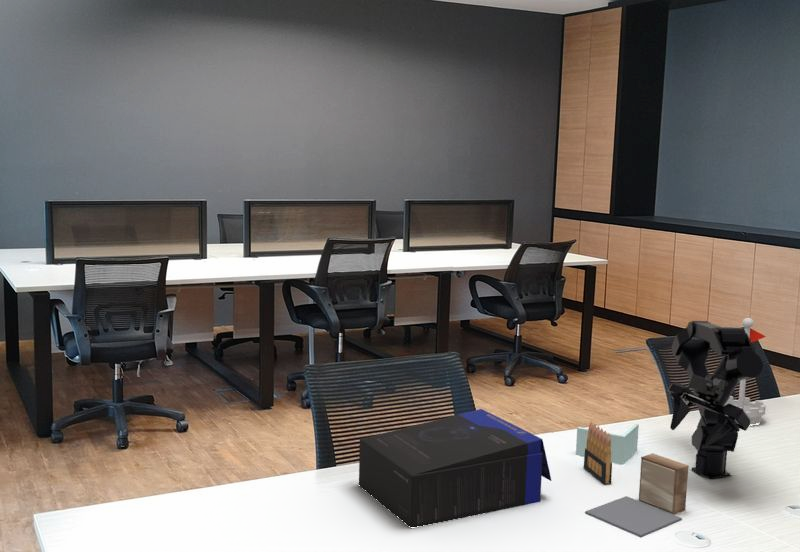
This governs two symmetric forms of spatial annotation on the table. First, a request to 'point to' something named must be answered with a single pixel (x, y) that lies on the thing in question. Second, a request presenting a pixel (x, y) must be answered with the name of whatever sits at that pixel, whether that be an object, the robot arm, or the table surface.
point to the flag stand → (744, 402)
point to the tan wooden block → (663, 483)
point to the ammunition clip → (598, 454)
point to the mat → (633, 516)
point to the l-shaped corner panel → (612, 444)
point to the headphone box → (453, 468)
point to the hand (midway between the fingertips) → (688, 436)
